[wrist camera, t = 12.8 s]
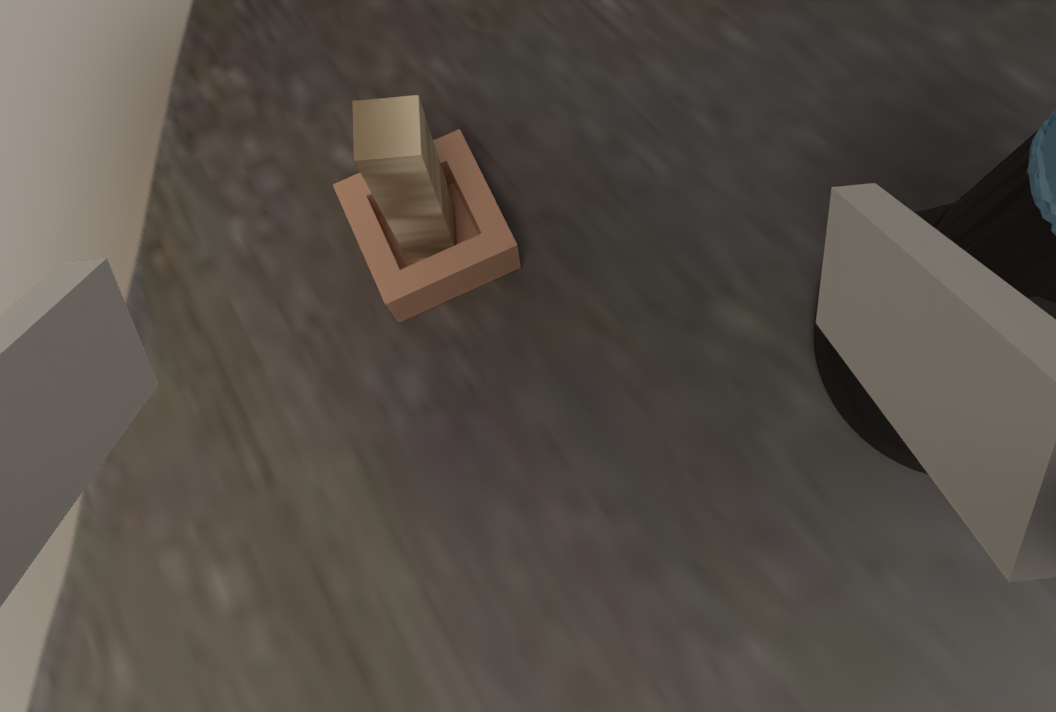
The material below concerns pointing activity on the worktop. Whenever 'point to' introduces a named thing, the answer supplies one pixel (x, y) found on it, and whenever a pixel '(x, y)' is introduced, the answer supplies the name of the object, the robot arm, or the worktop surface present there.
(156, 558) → the worktop surface
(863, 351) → the robot arm
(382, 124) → the beige tall square post
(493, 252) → the orange-brown square frame
